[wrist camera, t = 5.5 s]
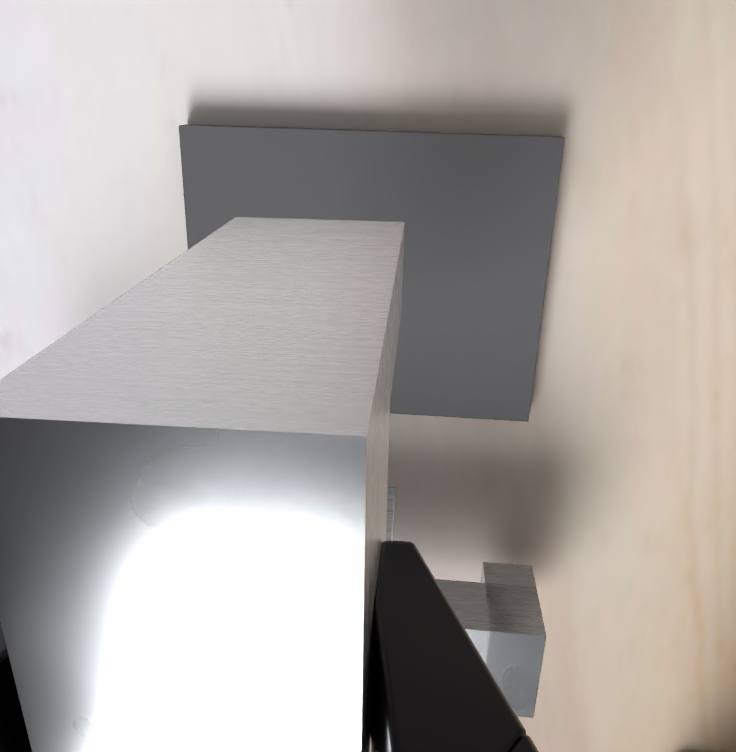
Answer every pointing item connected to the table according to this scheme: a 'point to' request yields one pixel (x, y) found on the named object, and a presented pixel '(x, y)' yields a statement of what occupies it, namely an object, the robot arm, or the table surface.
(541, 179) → the mat
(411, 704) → the robot arm
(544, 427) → the table surface
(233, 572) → the brushed aluminum pillar
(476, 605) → the vise
